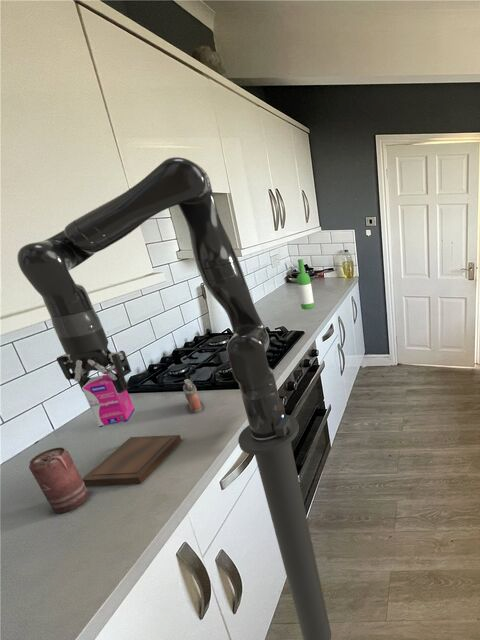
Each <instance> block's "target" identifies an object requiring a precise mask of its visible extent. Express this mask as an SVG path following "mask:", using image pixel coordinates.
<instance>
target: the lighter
mask: <svg viewBox="0 0 480 640" xmlns="http://www.w3.org/2000/svg"><path fill="white" fill-rule="evenodd" d="M183 381H184V384H183V385H182V390H183V393H184V396H185V399H186V400H187V402H188V408H189V410H190V412H192V413H193V414H197V413H200V412H202V411H203V405H202V402H201V401H200V398H199V395H198V391H197V389H198V388H197V386H196V385H195V384H194V383H193V382H192V381H191V379H189V378H186V379H184V380H183Z"/></svg>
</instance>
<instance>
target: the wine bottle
mask: <svg viewBox="0 0 480 640" xmlns="http://www.w3.org/2000/svg"><path fill="white" fill-rule="evenodd" d="M297 264H298V270H299V273H298V275H297V276H296V283H297V290H298V295H299V302H300V307H301V309H302V310H311V309H314V308H315V300H314V294H313V287H312V282H311V277H310V275H309V274H308V273H306V270H305V263H304V259H302V258H301V259H300V258H299V259H297Z"/></svg>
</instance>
